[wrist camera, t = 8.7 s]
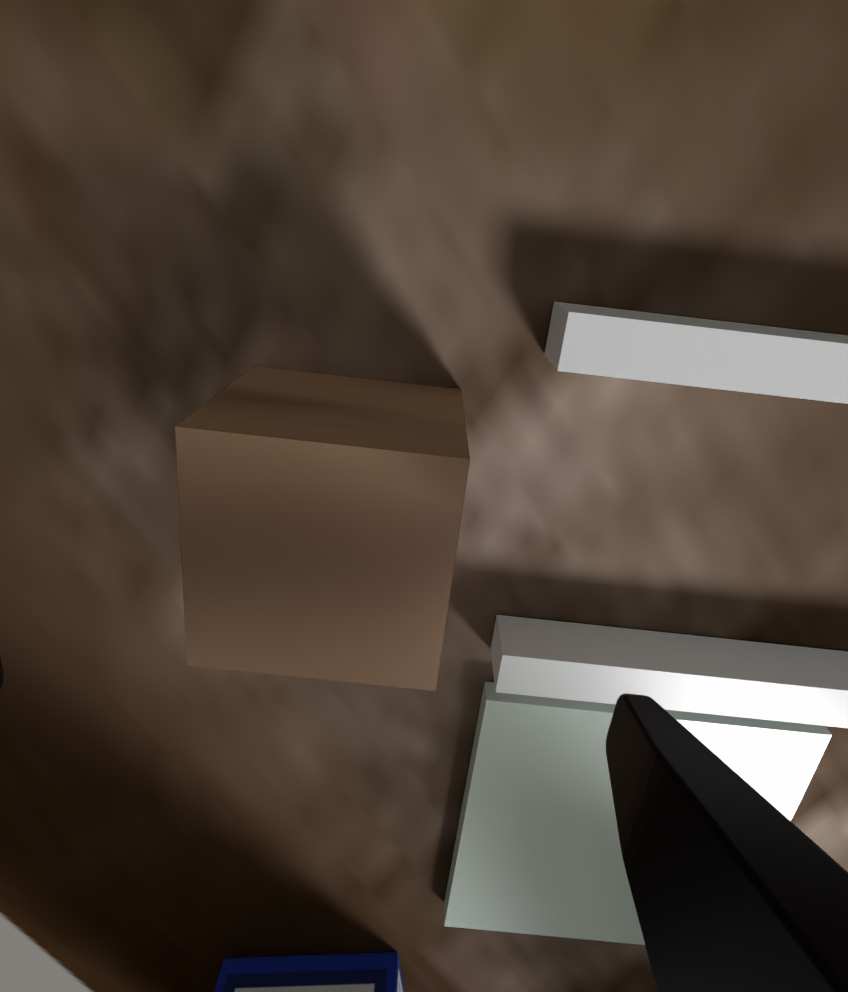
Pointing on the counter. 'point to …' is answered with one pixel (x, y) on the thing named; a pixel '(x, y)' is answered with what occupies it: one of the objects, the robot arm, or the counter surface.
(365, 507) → the block
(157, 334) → the counter surface
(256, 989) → the milk carton
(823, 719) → the channel
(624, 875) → the pad
